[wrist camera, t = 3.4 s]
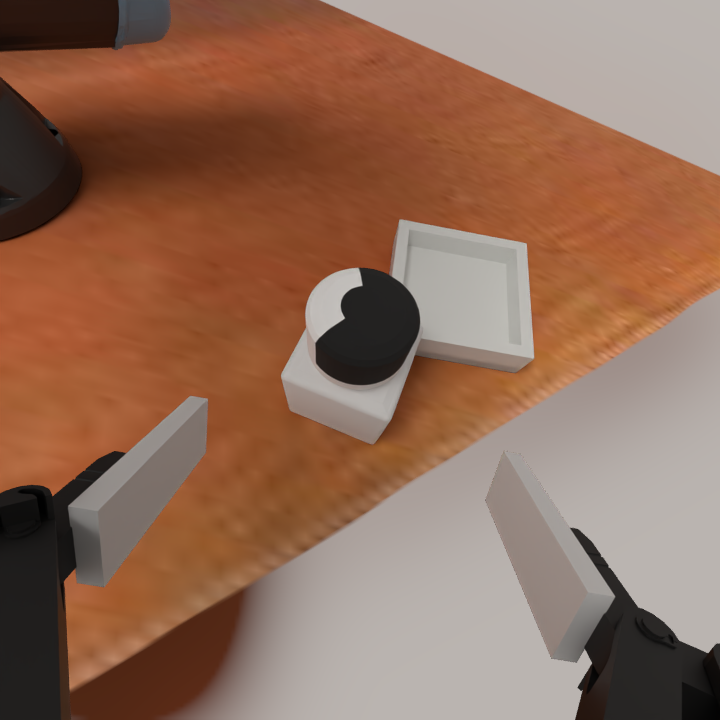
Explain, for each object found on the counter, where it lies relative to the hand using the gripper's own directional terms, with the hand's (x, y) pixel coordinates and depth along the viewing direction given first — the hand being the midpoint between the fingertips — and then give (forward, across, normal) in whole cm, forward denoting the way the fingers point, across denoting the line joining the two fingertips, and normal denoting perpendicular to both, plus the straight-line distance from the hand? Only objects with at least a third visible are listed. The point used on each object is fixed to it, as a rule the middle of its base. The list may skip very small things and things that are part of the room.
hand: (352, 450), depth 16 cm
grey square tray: (+20, +7, +4) cm, 22 cm away
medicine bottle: (+13, 0, -3) cm, 13 cm away
